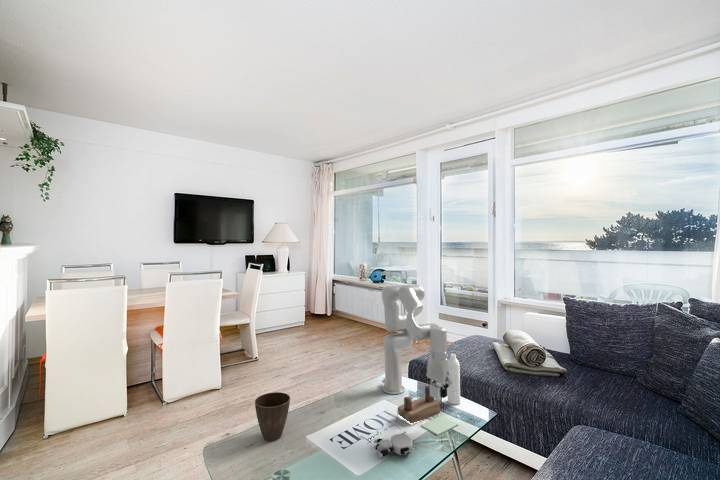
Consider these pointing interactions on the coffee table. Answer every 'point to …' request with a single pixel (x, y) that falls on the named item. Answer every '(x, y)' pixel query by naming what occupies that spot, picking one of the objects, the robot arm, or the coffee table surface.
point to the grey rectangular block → (436, 390)
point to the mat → (439, 425)
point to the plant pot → (272, 414)
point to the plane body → (419, 407)
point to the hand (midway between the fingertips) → (439, 394)
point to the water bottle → (454, 380)
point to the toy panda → (394, 445)
